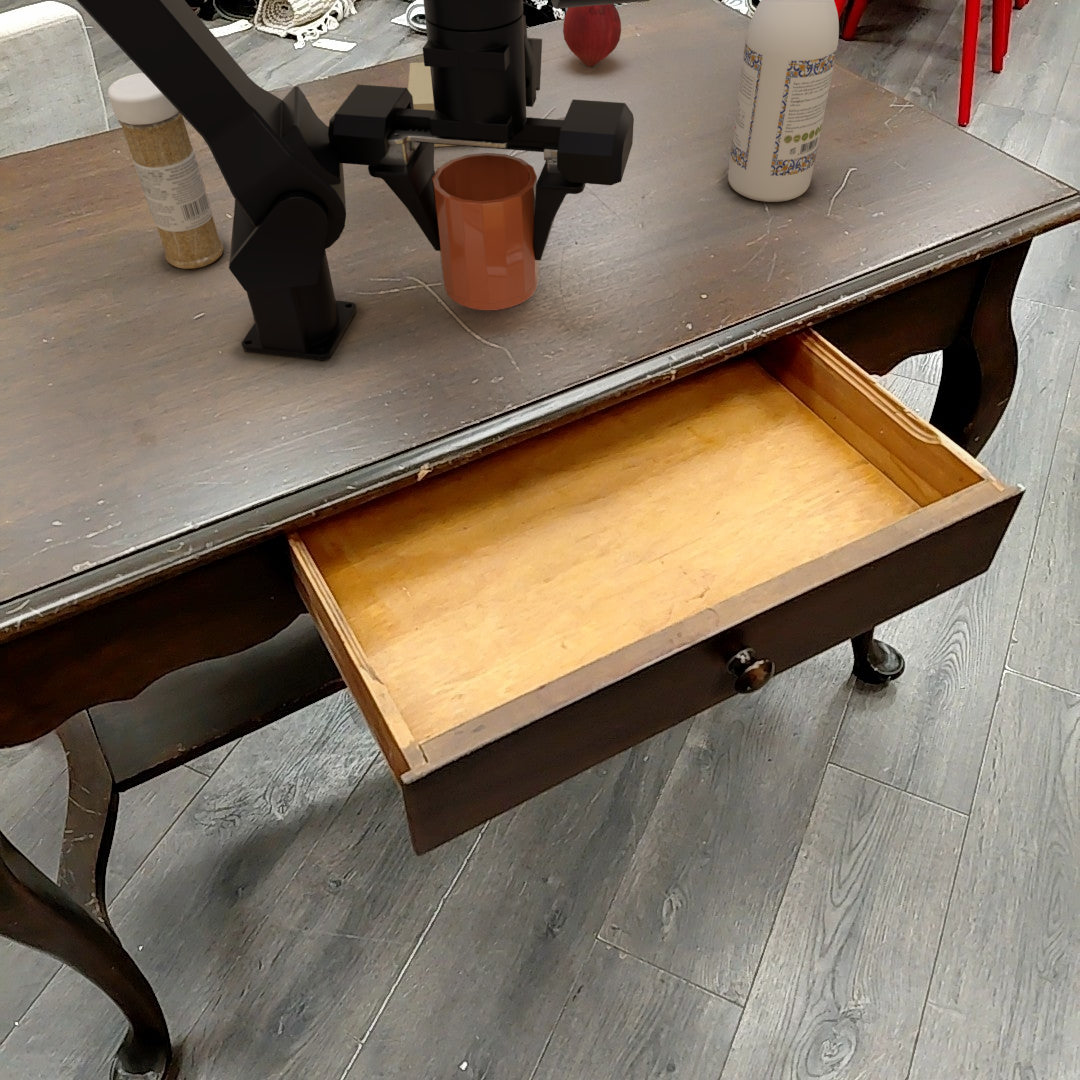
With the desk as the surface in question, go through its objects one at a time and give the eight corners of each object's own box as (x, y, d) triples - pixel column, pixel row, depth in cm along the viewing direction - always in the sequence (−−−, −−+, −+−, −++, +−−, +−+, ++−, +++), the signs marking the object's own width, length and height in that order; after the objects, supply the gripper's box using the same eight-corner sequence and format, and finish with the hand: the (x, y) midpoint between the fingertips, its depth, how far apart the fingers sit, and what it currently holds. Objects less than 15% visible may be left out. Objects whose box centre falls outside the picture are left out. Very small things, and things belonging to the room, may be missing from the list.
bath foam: (821, 176, 83) (876, -91, 69) (791, 212, 80) (843, -63, 65) (746, 158, 86) (784, -104, 71) (713, 192, 82) (747, -78, 67)
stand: (510, 143, 89) (508, 99, 86) (412, 148, 88) (406, 104, 86) (506, 100, 95) (504, 58, 92) (414, 105, 95) (409, 62, 92)
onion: (627, 59, 101) (631, -26, 95) (607, 81, 97) (610, -6, 91) (576, 51, 103) (576, -33, 97) (554, 72, 99) (553, -14, 93)
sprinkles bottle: (208, 234, 79) (157, 64, 69) (234, 257, 77) (185, 84, 67) (156, 254, 77) (95, 82, 67) (181, 278, 75) (121, 103, 65)
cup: (527, 314, 67) (523, 207, 61) (432, 305, 68) (420, 198, 62) (546, 261, 71) (545, 157, 65) (457, 253, 72) (448, 149, 66)
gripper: (651, -27, 60) (637, 206, 72) (365, -41, 63) (396, 185, 74) (626, 43, 53) (615, 290, 64) (303, 24, 55) (348, 264, 67)
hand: (489, 252), depth 68 cm, fingers closed on cup, 7 cm apart
